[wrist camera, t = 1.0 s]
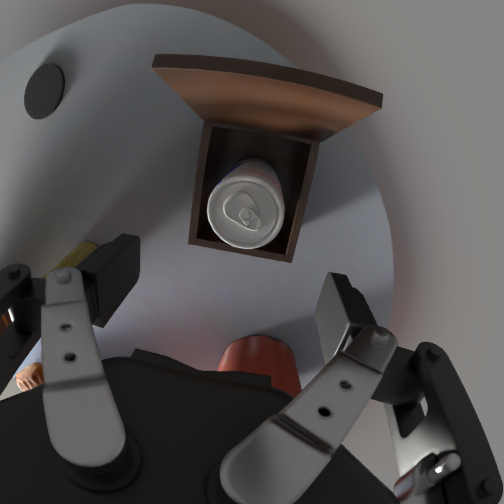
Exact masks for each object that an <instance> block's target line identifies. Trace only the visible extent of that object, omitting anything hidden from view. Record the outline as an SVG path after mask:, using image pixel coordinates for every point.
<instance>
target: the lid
mask: <svg viewBox="0 0 504 504" xmlns="http://www.w3.org/2000/svg"><path fill="white" fill-rule="evenodd" d="M151 68H152V69H153V70H154V71H155V72H156V73H157V74H158V75H159V76H160V77H161V78H162V79H163V80H164V81H165V82H166V83H167V84H168V85H169V86H170V87H171V88H172V89H173V90H174V91H175V92H176V93H177V94H178V95H179V96H180V97H181V98H182V99H183V100H184V101H185V102H186V103H187V104H188V105H189V106H190V107H191V109H192V110H193V111H194V112H195V113H196V114H197V115H198V116H199V117H200V118H201V119H202V120H203V121H209V122H217V123H224V124H231V125H237V126H244V127H250V128H255V129H261V130H267V131H272V132H277V133H282V134H287V135H291V136H296V137H301V138H305V139H309V140H314V141H318V142H323V141H324V140H326V139H328V138H329V137H331V136H333V135H335V134H336V133H338V132H340V131H341V130H343V129H345V128H347V127H348V126H350V125H352V124H353V123H356V122H357V121H359V120H361V119H363V118H364V117H366V116H368V115H370V114H372V113H374V112H375V111H377V110H379V109H381V107H382V100H383V94H382V93H380V92H377V91H374V90H371V89H368V88H365V87H362V86H359V85H356V84H353V83H350V82H346V81H342V80H339V79H336V78H332V77H328V76H325V75H321V74H316V73H313V72H308V71H304V70H300V69H295V68H291V67H286V66H280V65H275V64H269V63H263V62H257V61H250V60H243V59H235V58H226V57H215V56H202V55H182V54H155V57H154V60H153V64H152V67H151Z"/></svg>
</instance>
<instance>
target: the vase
mask: <svg viewBox="0 0 504 504" xmlns="http://www.w3.org/2000/svg"><path fill="white" fill-rule="evenodd" d="M97 248H98V246H96V245H95V244H93V243H90V242H82V243H80V244H79V245H78V246H77V247H76V248H75V249H74V250H73V251H72V252H70V253H69V254H68V255H67V256H66V257H65V258H64V259H62V260H61V261H60V262H59V263H58V264H57V265H56V266H55V267H54V268H53V269H52V270H54V269H56V268H59V267H75V266H76V265H77V264H79V263H80V262H81V261H82V260H83V259H85V258H86V257H87V256H89V254H91V253H92V252H94V250H95V249H97ZM52 270H50V271H52ZM50 271H49V272H50ZM49 272H48V273H49ZM48 273H47V274H48ZM47 274H46V275H44V276H43V277H42V278H46V276H47Z"/></svg>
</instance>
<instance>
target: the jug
mask: <svg viewBox="0 0 504 504" xmlns="http://www.w3.org/2000/svg"><path fill="white" fill-rule="evenodd" d="M11 322H12V319H11V316H10V313H9V310H8V311H7V312H6V313H5V314H4V315H3V316H2V317H1V318H0V334H1V333H2V332H3V331H4V330H5V328H6V327H7V326H8V325H9V324H10V323H11Z"/></svg>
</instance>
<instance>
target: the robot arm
mask: <svg viewBox="0 0 504 504" xmlns="http://www.w3.org/2000/svg"><path fill="white" fill-rule="evenodd" d="M139 274H140V237H139V236H136V235H130V234H125V233H122V234H120V235H119V236H118V237H117V238H116V239H114V240H113V241H112V242H108V243H105V244H103V245H100V246H99V247H98V248H97V249H95V250H94V252H92V253H91V254H89V256H87V257H86V258H85V259H83V260H82V261H81V262H80V263H79V264H77V265H76V266H75V267H59V268H56V269H54V270H52V271H50V272H49V273H48V274H47V276H46V278H31V272H30V268H29V267H28V266H27V265H25V264H12V265H9V266H7V267H5V268H4V269H2V270H1V271H0V318H1V317H2V316H3V315H4V314H5V313H6V312H7V311H8V310H9V313H10V316H11V319H12V322H11V323H10V324H9V325H8V326H7V327H6V328H5V330H4V331H3V332H2V333H1V334H0V395H1V394H2V392H3V391H4V389H5V388H6V386H7V384H8V383H9V381H10V380H11V378H12V377H13V375H14V374H15V372H16V371H17V370H18V368H19V367H20V365H21V364H22V362H23V361H24V359H25V358H26V357H27V355H28V354H29V352H30V351H31V350H32V348H33V347H34V346H35V344H36V343H37V342H38V340H39V339H40V338H41V346H42V362H43V374H44V384H42V385H39V386H37V387H34V388H32V389H29V390H27V391H24V392H22V393H19V394H17V395H14V396H11V397H9V398H6V399H4V400H1V401H0V504H498V503H499V501H500V499H501V497H502V493H503V483H502V480H501V477H500V474H499V470H498V467H497V464H496V462H495V459H494V456H493V453H492V451H491V448H490V446H489V443H488V440H487V438H486V435H485V433H484V430H483V428H482V425H481V423H480V421H479V418H478V416H477V414H476V412H475V410H474V407H473V405H472V403H471V401H470V399H469V397H468V394H467V392H466V390H465V388H464V386H463V384H462V382H461V380H460V378H459V376H458V374H457V372H456V370H455V368H454V367H453V365H452V363H451V361H450V359H449V357H448V356H447V354H446V353H445V351H444V350H443V349H442V348H440V347H439V346H437V345H436V344H433V343H430V342H422V343H420V344H419V345H418V347H417V348H416V350H415V352H414V351H411V350H408V349H405V348H401V347H399V346H397V345H398V342H397V339H396V337H395V336H394V335H393V334H392V333H391V332H390V331H389V330H387V329H385V328H383V327H381V326H378V325H377V323H376V321H375V318H374V316H373V314H372V312H371V310H370V308H369V306H368V304H367V302H366V300H365V298H364V296H363V295H362V294H361V293H360V292H359V291H358V290H357V289H356V288H352V286H351V284H350V282H349V279H348V277H347V276H346V275H343V274H338V273H332V272H329V273H328V274H327V276H326V279H325V282H324V285H323V288H322V291H321V294H320V297H319V299H318V302H317V306H316V313H315V317H316V322H317V327H318V331H319V336H320V341H321V346H322V351H323V356H324V361H325V367H324V368H323V369H322V370H321V371H320V372H319V373H318V374H317V375H316V376H315V377H314V379H313V380H312V381H311V382H310V383H309V384H308V385H307V386H306V387H305V388H304V389H303V390H302V391H301V392H300V393H299V394H298V395H297V396H296V397H295V398H294V397H293V396H292V395H290V394H288V393H286V392H285V391H283V390H280V389H278V388H276V387H273V386H271V376H269V375H262V374H255V373H248V372H242V371H201V370H197V369H195V368H192V367H190V366H188V365H185V364H183V363H181V362H179V361H176V360H174V359H172V358H170V357H168V356H164V355H160V354H156V353H152V352H149V351H145V350H141V349H138V348H135V350H134V352H133V354H132V356H131V357H112V358H107V359H103V360H101V359H100V355H99V351H98V348H97V344H96V340H95V336H94V332H93V327H92V325H95V326H98V327H101V328H104V326H105V325H106V324H107V322H108V321H109V319H110V318H111V317H112V315H113V314H114V312H115V311H116V310H117V308H118V307H119V306H120V304H121V303H122V302H123V300H124V299H125V297H126V296H127V295H128V293H129V292H130V291H131V290H132V288H133V287H134V286H135V284H136V283H137V281H138V278H139ZM424 396H425V399H426V401H427V405H428V411H427V415H426V417H425V415H424V413H423V410H422V407H421V404H420V402H421V400H422V399H423V398H424ZM370 399H373V400H377V401H380V402H384V407H385V411H386V415H387V419H388V424H389V428H390V432H391V437H392V442H393V446H394V451H395V456H396V461H397V467H398V472H399V479H398V480H397V481H396V483H395V485H394V490H393V492H392V491H391V490H390V489H389V488H388V487H387V486H385V485H384V484H383V483H382V482H381V481H380V480H379V479H378V478H377V477H376V476H374V475H373V474H372V473H371V472H370V471H369V470H368V469H367V468H366V467H365V466H364V465H363V464H362V463H361V462H360V461H359V460H358V459H356V458H355V456H353V455H352V454H351V453H350V452H349V451H348V450H347V449H346V448H345V447H344V446H343V445H342V444H341V443H342V441H343V440H344V438H345V437H346V436H347V434H348V433H349V431H350V430H351V428H352V427H353V425H354V424H355V422H356V421H357V419H358V417H359V416H360V414H361V413H362V411H363V409H364V408H365V406H366V405H367V403H368V401H369V400H370Z"/></svg>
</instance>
